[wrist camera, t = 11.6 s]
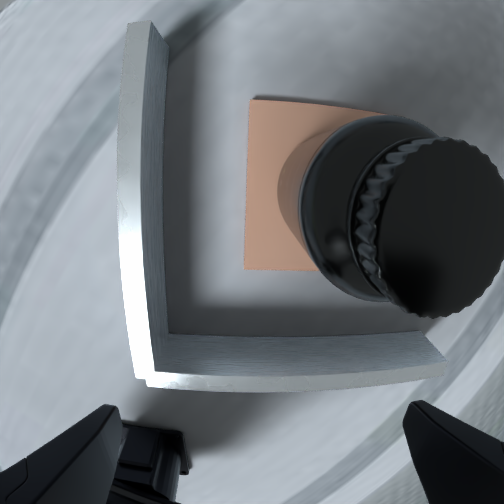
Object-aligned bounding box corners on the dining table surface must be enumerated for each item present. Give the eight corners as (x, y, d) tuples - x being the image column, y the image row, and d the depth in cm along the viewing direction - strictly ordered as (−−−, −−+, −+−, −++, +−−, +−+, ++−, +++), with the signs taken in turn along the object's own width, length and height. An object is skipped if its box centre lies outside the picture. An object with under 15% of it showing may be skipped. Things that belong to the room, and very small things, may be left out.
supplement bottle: (398, 160, 18) (552, 175, 6) (360, 261, 20) (474, 368, 8) (296, 115, 17) (386, 47, 6) (257, 225, 19) (284, 326, 7)
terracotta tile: (392, 268, 21) (396, 271, 20) (243, 266, 20) (244, 269, 20) (405, 119, 18) (409, 118, 17) (249, 101, 18) (249, 99, 17)
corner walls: (416, 344, 22) (443, 375, 18) (154, 346, 22) (137, 385, 17) (447, 81, 17) (486, 70, 13) (150, 49, 16) (127, 23, 12)
